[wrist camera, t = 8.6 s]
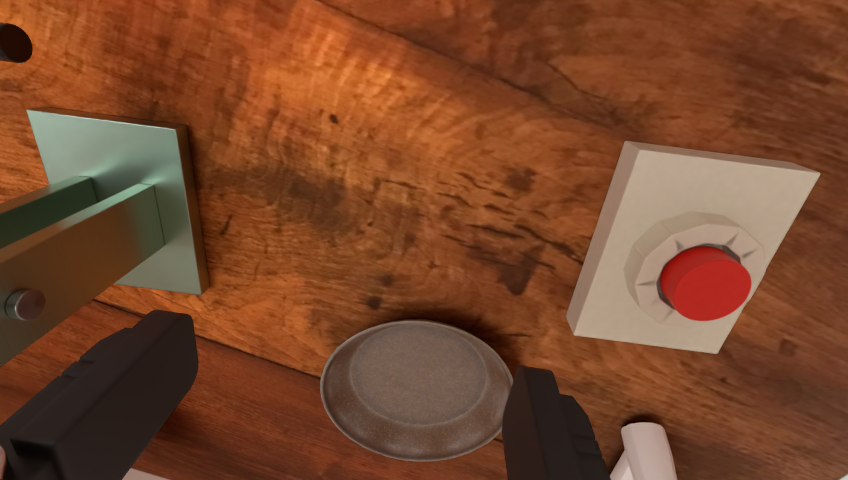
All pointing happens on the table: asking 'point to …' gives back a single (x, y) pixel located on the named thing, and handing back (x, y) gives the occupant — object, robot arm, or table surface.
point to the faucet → (644, 454)
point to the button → (705, 283)
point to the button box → (679, 238)
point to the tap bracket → (97, 220)
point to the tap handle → (14, 44)
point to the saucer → (416, 390)
